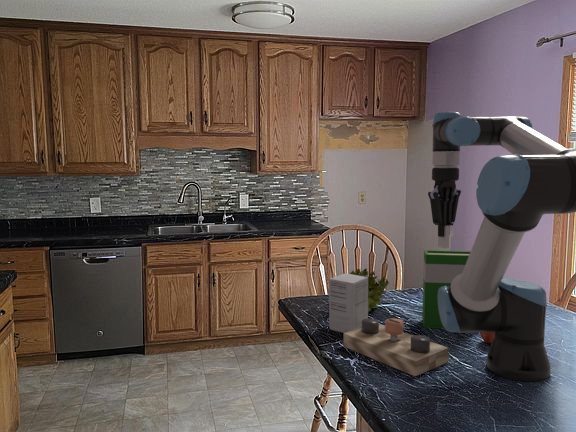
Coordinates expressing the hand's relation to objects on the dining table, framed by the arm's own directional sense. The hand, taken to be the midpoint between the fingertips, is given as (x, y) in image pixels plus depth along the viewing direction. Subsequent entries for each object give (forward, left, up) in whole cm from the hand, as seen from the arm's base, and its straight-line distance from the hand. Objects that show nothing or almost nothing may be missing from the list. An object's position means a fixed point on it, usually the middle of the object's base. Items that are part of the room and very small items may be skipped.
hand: (443, 247), depth 150 cm
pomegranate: (-11, -10, -29) cm, 32 cm away
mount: (+2, +19, -28) cm, 34 cm away
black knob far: (+11, +19, -28) cm, 36 cm away
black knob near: (-7, +19, -28) cm, 35 cm away
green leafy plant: (+36, -6, -29) cm, 46 cm away
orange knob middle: (+2, +19, -26) cm, 32 cm away
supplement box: (+25, +14, -29) cm, 40 cm away
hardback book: (+6, -14, -29) cm, 32 cm away
